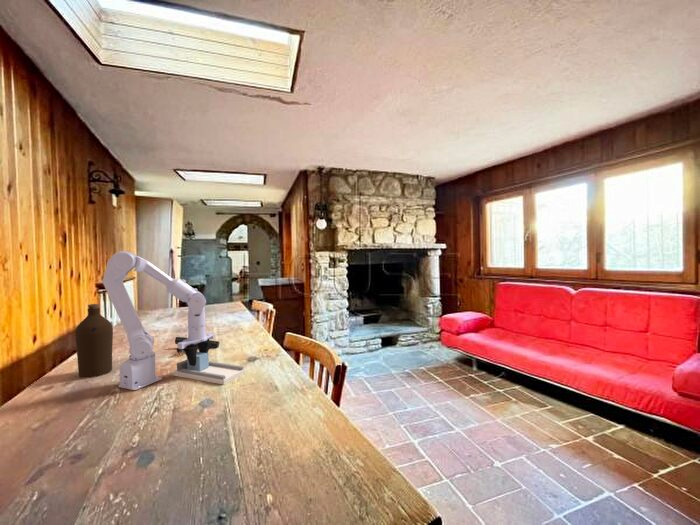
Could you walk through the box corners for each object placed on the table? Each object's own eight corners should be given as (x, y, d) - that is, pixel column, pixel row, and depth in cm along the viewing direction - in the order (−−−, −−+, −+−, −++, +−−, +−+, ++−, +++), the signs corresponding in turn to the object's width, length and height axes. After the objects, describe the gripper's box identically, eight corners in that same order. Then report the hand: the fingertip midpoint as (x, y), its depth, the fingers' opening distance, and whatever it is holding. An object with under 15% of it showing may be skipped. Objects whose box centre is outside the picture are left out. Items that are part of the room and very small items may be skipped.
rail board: (224, 384, 101) (223, 372, 101) (173, 375, 110) (173, 364, 110) (245, 373, 111) (244, 362, 111) (196, 365, 119) (196, 355, 119)
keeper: (199, 370, 109) (199, 356, 109) (187, 368, 111) (186, 354, 111) (208, 367, 113) (208, 353, 113) (196, 365, 115) (196, 351, 115)
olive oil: (120, 369, 116) (118, 302, 115) (88, 380, 106) (85, 307, 105) (102, 366, 120) (100, 301, 119) (69, 376, 110) (67, 305, 109)
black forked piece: (205, 346, 130) (221, 337, 145) (159, 341, 130) (180, 332, 145) (204, 359, 130) (220, 348, 145) (158, 354, 131) (179, 344, 146)
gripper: (188, 331, 103) (189, 371, 104) (220, 322, 117) (221, 358, 117) (172, 329, 106) (173, 369, 106) (206, 321, 120) (207, 356, 120)
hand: (197, 363), depth 112 cm, fingers closed on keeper, 4 cm apart
